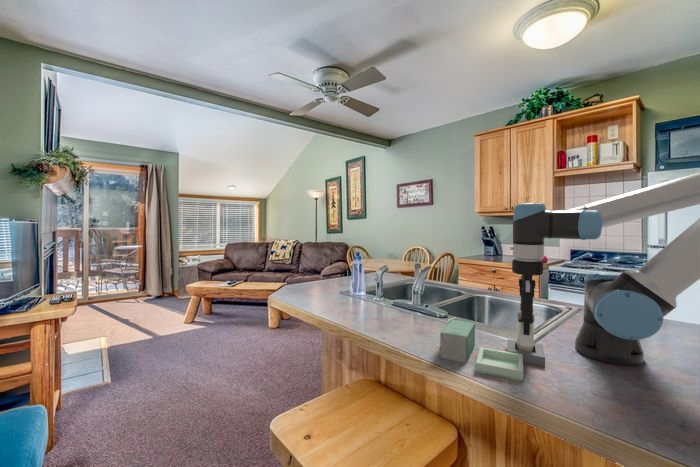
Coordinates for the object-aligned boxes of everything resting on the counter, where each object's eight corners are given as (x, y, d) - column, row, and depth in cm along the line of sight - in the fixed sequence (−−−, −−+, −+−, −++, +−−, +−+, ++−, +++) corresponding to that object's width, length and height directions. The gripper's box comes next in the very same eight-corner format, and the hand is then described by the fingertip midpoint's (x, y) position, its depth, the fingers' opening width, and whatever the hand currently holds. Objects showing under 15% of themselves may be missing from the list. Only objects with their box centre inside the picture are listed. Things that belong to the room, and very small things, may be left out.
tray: (522, 363, 85) (522, 354, 85) (523, 382, 76) (523, 371, 76) (480, 355, 90) (480, 347, 90) (476, 372, 81) (476, 362, 80)
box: (475, 345, 97) (475, 321, 96) (467, 364, 85) (467, 337, 85) (450, 341, 101) (450, 318, 100) (439, 358, 89) (439, 332, 88)
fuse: (532, 354, 90) (534, 313, 89) (533, 360, 86) (534, 317, 86) (516, 352, 92) (517, 311, 91) (516, 357, 88) (517, 315, 87)
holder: (542, 353, 91) (542, 344, 91) (544, 366, 83) (545, 357, 83) (507, 347, 95) (507, 339, 95) (506, 359, 87) (506, 350, 87)
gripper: (512, 254, 98) (510, 325, 100) (511, 264, 80) (509, 351, 81) (540, 255, 95) (538, 329, 96) (546, 266, 76) (544, 357, 78)
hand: (525, 339), depth 89 cm, fingers open, 8 cm apart
